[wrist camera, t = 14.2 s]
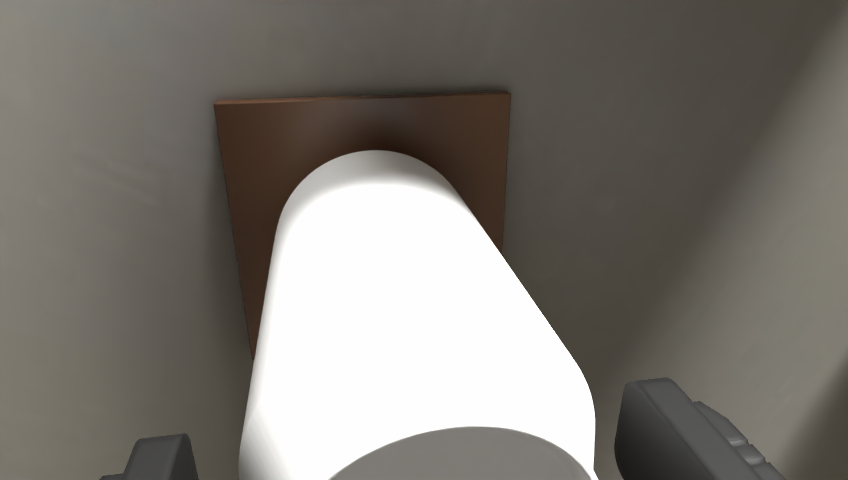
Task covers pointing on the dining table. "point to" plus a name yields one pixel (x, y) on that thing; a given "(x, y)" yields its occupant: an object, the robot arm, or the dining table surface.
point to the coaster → (343, 134)
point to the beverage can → (404, 343)
